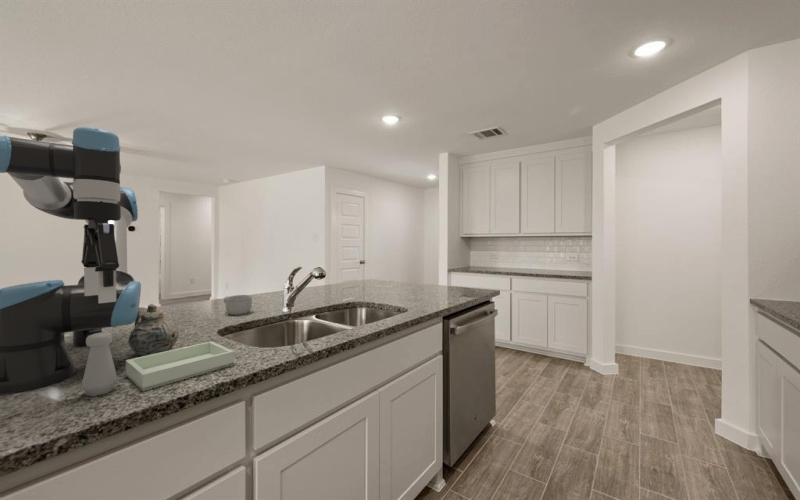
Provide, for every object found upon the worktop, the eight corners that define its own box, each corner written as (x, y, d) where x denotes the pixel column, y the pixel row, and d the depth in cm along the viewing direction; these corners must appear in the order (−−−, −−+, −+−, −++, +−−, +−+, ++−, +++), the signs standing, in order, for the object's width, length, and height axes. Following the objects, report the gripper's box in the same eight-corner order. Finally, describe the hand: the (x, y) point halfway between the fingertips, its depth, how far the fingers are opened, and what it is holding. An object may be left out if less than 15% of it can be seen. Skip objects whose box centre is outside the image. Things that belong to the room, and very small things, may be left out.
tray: (143, 391, 73) (142, 374, 73) (125, 375, 82) (125, 360, 82) (234, 365, 89) (233, 351, 89) (211, 353, 98) (211, 341, 97)
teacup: (256, 313, 151) (256, 296, 151) (234, 318, 142) (234, 299, 142) (239, 309, 159) (238, 293, 158) (216, 313, 150) (216, 296, 149)
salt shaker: (100, 398, 70) (99, 338, 69) (74, 398, 70) (72, 337, 70) (124, 386, 76) (123, 330, 75) (99, 386, 76) (98, 330, 75)
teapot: (193, 355, 96) (193, 304, 96) (147, 368, 86) (146, 311, 86) (158, 343, 107) (157, 297, 107) (113, 353, 97) (112, 303, 97)
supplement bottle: (96, 345, 104) (95, 308, 104) (68, 348, 102) (67, 309, 101) (106, 339, 110) (105, 304, 110) (79, 341, 108) (79, 305, 108)
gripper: (136, 199, 67) (138, 302, 68) (106, 206, 82) (107, 290, 83) (86, 195, 61) (88, 308, 62) (63, 203, 76) (65, 294, 77)
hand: (99, 298), depth 72 cm, fingers open, 13 cm apart
